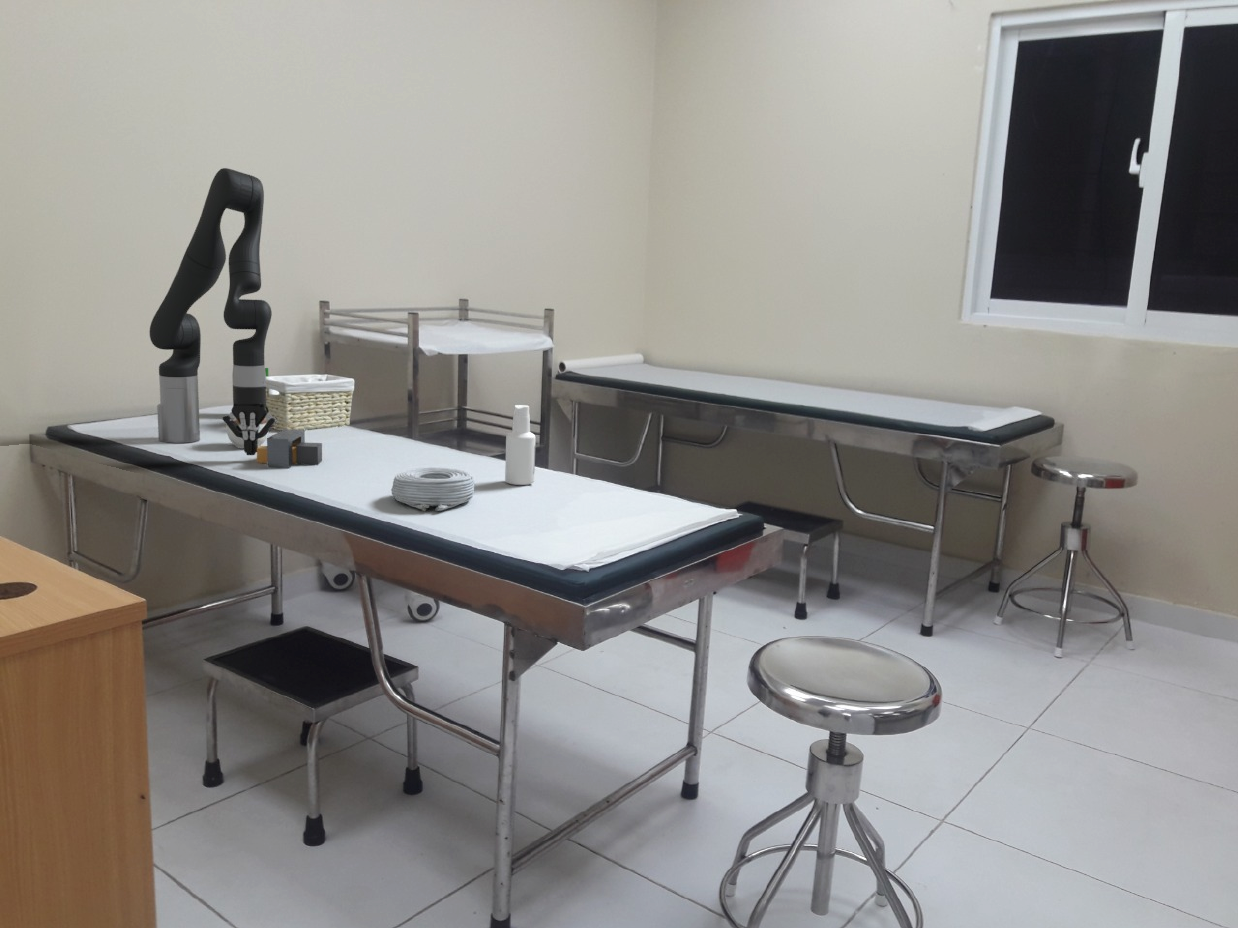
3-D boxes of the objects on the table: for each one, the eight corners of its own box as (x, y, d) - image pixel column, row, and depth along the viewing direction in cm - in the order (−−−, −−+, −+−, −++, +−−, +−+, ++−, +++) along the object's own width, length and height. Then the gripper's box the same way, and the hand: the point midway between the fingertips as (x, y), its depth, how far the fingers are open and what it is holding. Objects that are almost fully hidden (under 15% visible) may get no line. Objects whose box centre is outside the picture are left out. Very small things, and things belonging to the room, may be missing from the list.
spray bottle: (538, 481, 233) (541, 405, 230) (526, 486, 227) (529, 409, 223) (512, 477, 235) (514, 403, 232) (499, 483, 229) (501, 406, 225)
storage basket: (326, 420, 305) (325, 372, 302) (357, 427, 295) (357, 378, 292) (254, 427, 287) (253, 376, 284) (285, 435, 277) (284, 382, 274)
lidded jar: (251, 452, 251) (250, 415, 249) (217, 447, 254) (215, 411, 252) (278, 445, 261) (278, 410, 259) (245, 441, 264) (244, 406, 262)
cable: (434, 514, 199) (435, 485, 198) (372, 500, 208) (372, 472, 207) (490, 499, 213) (491, 472, 212) (430, 487, 222) (430, 461, 221)
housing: (267, 467, 234) (266, 438, 232) (284, 456, 246) (284, 429, 245) (288, 468, 234) (288, 439, 232) (304, 457, 247) (304, 430, 245)
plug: (256, 463, 238) (255, 444, 237) (261, 459, 242) (261, 441, 242) (317, 464, 239) (317, 446, 238) (322, 460, 244) (321, 443, 243)
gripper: (215, 384, 232) (217, 456, 236) (272, 387, 232) (273, 459, 236) (227, 380, 239) (229, 450, 243) (282, 383, 240) (283, 453, 243)
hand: (251, 454), depth 239 cm, fingers closed
